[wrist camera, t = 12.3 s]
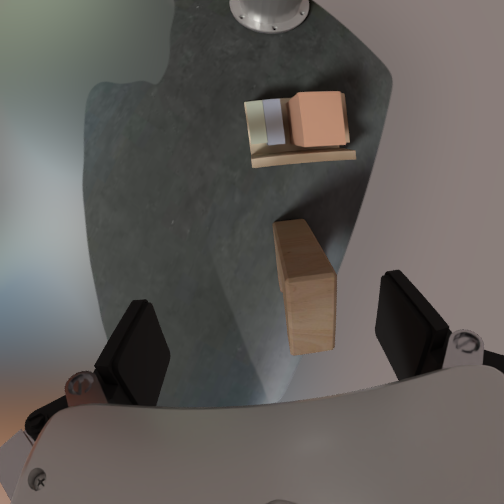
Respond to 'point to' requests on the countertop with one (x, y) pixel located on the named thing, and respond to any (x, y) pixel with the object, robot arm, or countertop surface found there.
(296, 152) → the shelf
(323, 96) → the tall pink rectangular prism
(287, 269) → the decorative block
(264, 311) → the countertop surface
